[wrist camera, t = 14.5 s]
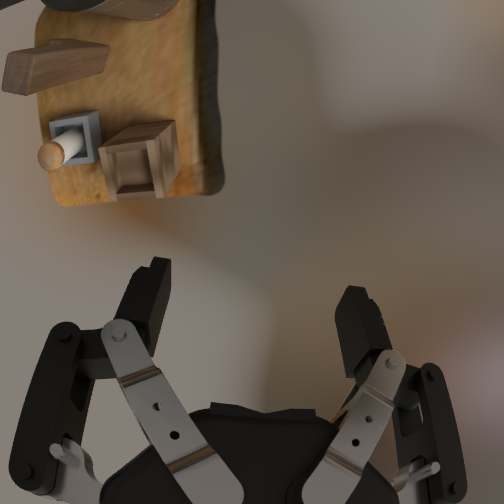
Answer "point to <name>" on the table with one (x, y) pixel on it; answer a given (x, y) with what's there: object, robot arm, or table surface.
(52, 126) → the low socket
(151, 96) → the table surface
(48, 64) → the wooden block
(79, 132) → the white and tan cylinder
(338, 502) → the robot arm
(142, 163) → the socket tower
